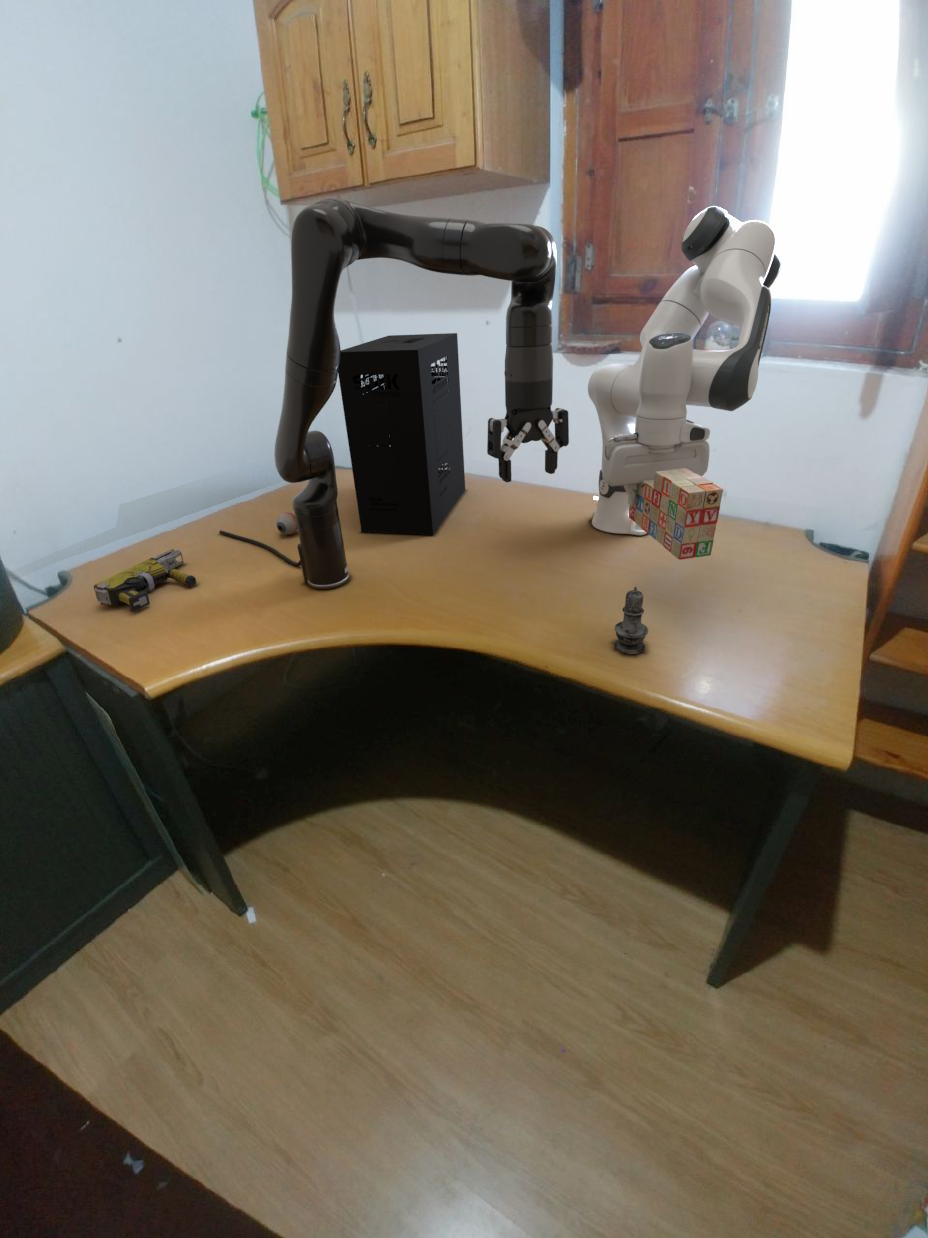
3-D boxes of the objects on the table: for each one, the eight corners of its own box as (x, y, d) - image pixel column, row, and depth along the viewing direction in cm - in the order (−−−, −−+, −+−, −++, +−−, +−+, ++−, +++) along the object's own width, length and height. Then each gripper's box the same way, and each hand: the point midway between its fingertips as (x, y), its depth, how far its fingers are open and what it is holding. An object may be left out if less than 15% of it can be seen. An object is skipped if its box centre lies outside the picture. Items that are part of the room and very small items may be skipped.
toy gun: (219, 557, 146) (169, 546, 150) (142, 598, 126) (87, 585, 129) (222, 574, 148) (172, 563, 152) (147, 618, 128) (92, 604, 132)
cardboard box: (433, 535, 159) (417, 349, 136) (361, 532, 163) (335, 352, 141) (465, 489, 190) (457, 332, 168) (404, 488, 195) (388, 335, 172)
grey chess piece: (647, 656, 105) (654, 595, 99) (612, 653, 107) (618, 593, 101) (645, 638, 110) (652, 579, 104) (612, 636, 111) (617, 578, 105)
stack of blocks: (627, 517, 123) (632, 457, 117) (655, 514, 124) (663, 454, 118) (679, 560, 105) (689, 491, 99) (712, 555, 106) (724, 487, 99)
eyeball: (273, 537, 164) (268, 516, 161) (287, 528, 169) (282, 508, 166) (291, 539, 161) (286, 518, 158) (305, 530, 166) (301, 510, 163)
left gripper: (499, 384, 89) (501, 490, 98) (580, 373, 94) (576, 475, 102) (477, 378, 95) (481, 478, 104) (554, 368, 100) (552, 465, 108)
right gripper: (613, 439, 107) (607, 513, 114) (718, 429, 110) (706, 501, 117) (599, 432, 113) (595, 503, 120) (700, 422, 116) (690, 492, 123)
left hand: (528, 476), depth 103 cm, fingers open, 8 cm apart
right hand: (651, 502), depth 119 cm, fingers closed on stack of blocks, 6 cm apart
